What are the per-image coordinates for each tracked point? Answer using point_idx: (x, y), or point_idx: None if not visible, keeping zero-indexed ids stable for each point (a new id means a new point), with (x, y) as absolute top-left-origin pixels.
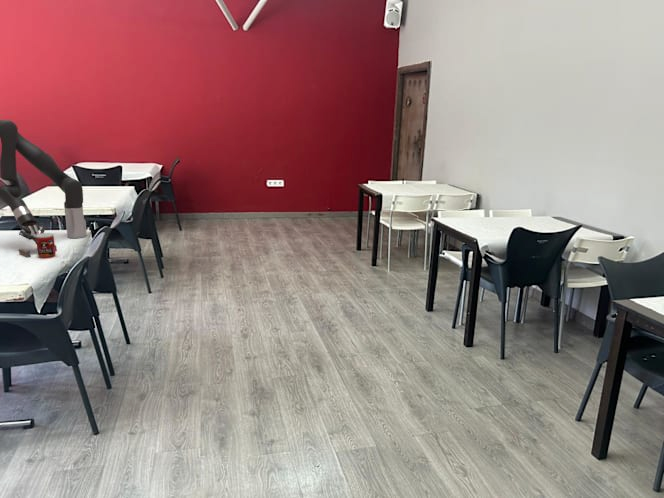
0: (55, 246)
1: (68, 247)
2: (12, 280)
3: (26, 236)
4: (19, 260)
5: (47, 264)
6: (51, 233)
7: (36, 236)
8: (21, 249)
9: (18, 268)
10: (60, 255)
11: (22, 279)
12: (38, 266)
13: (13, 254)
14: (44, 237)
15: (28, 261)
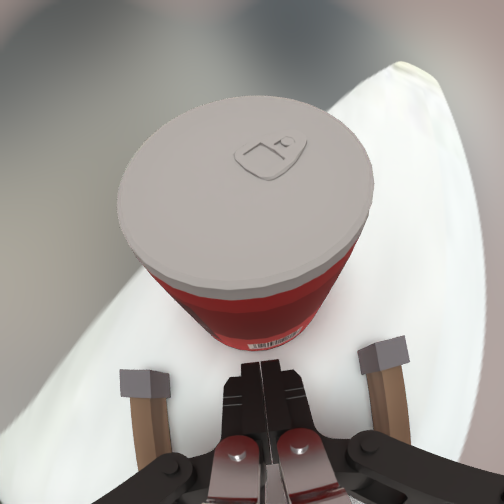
0: (130, 370)
1: (57, 395)
2: (432, 97)
3: (404, 495)
4: (431, 298)
5: None
6: (124, 188)
7: (368, 160)
8: None
9: (433, 169)
10: None
11: (409, 88)
12: None
13: None
14: (286, 104)
15: (392, 243)
